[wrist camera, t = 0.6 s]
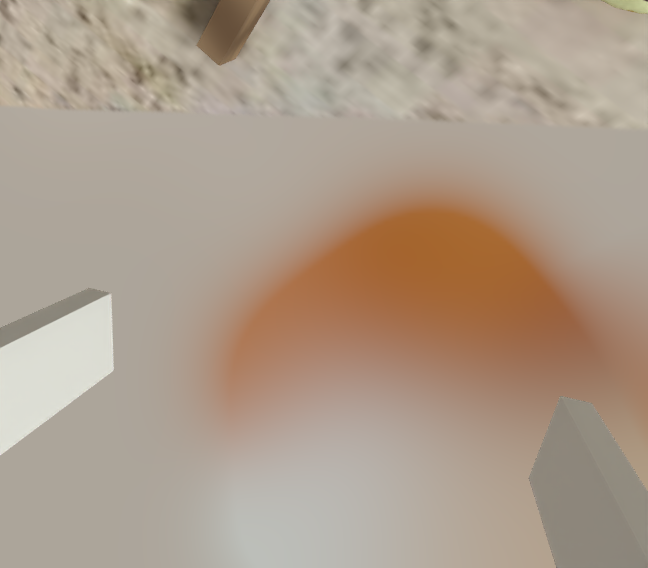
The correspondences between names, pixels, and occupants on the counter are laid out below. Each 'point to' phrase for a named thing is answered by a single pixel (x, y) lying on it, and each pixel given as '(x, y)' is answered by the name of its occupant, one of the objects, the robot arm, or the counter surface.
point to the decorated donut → (630, 5)
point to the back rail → (230, 28)
